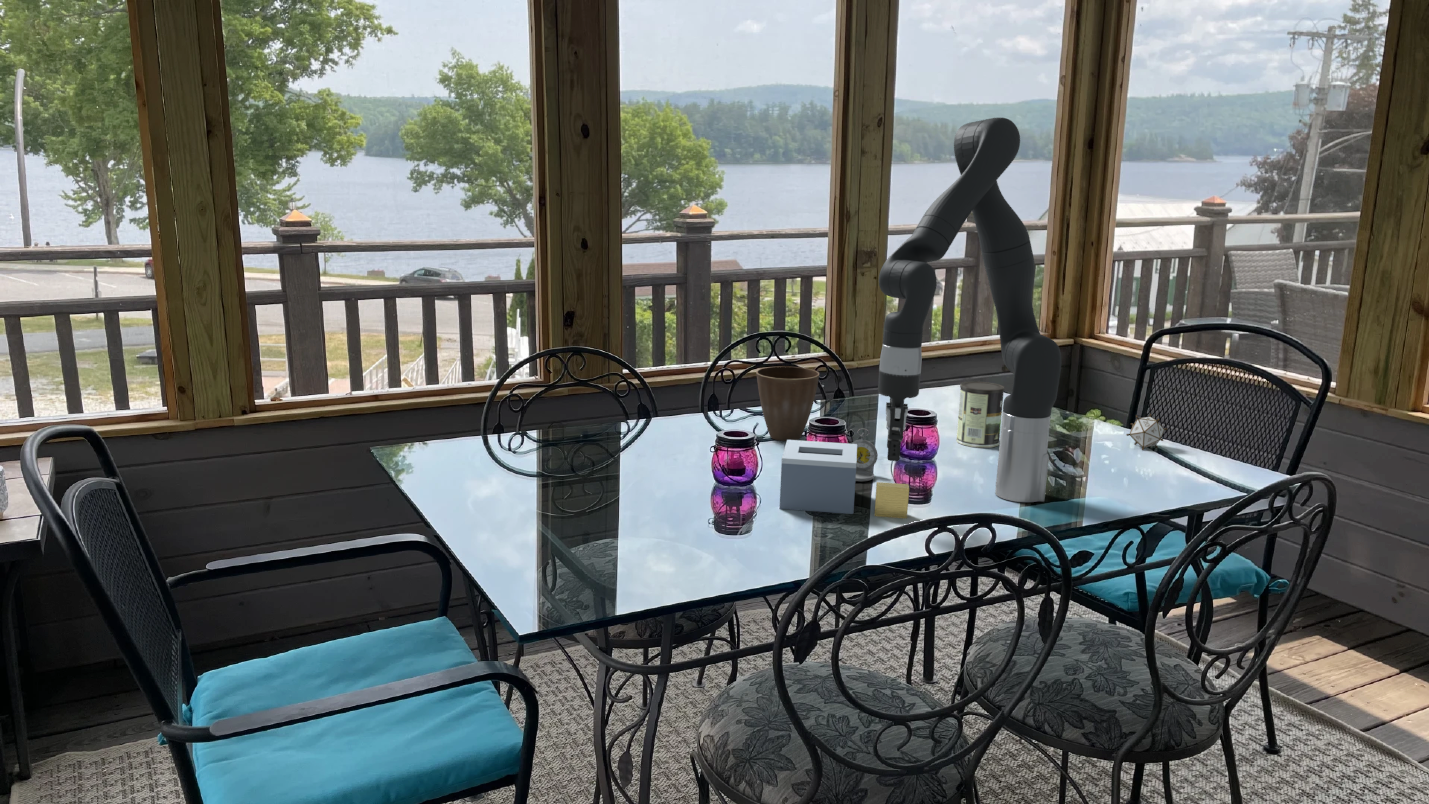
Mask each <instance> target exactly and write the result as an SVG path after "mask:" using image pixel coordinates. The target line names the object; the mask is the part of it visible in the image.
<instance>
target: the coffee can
mask: <svg viewBox="0 0 1429 804" xmlns="http://www.w3.org/2000/svg"><path fill="white" fill-rule="evenodd" d="M959 386H960V387H959V388H960V393H959V403H958V416H957V417H958V419H957V429H956V430H957V431H956V440H955V441H956V443H957V444H960V445H962V446H965V447H972V448H980V449H982V448H983V449H985V448H986V449H987V448H996V447H998V446H1000V435H1001V426H1002V425H1001V424H1002V413H1003V403H1004V393H1005V392H1004V391H1005V386H1004V385H1002V384H999V383H996V382H989V381H976V380H975V381H964V382H961V383H960V384H959Z"/></svg>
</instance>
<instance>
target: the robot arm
mask: <svg viewBox="0 0 1429 804" xmlns="http://www.w3.org/2000/svg"><path fill="white" fill-rule="evenodd" d="M1020 146H1021V136H1020V131H1019V129H1018V127H1017V125H1016V124H1015V123H1014V122H1013V121H1012V120H1011V119H1009V118H1006V117H990V118H986V119H982V120H977V121H972V122H967V123H965V124H963V125H961V126H960V127H959V128H958V129H957V131H956V132H955V135H954V140H953V152H954V157H955V161H956V165H957V168H958V171H959V174H960V176H959V177H958V178H957V179H956V180H955V181H954V182H953V183H952V184H951V185H950V186H949V187H947V189H946V190H945V191H944V192H942V193H941V194H939V196H938V197H937V198H936V199H935V200H934V201H933V202H932V203H931V204H930V206H928V209H927V210H926V211H925V212H924V214H923V216H922V218H921V219H920V221H919V222H918V224H917V225H916V227H915V229H914V231H913V233H912V234H911V235H910V236H909V238H907V239H906V240H905V241H904V242H902V244H901V245H900V246H898V247H897V248H896V249H895V251H894V252H892V254H891V255H890V256H888V258H887V259H886V260H885V262H884V263H883V265H882V266H881V269H880V271H879V275H878V286H879V289H880V291H881V292H882V294H883V295H885V296H887V297H890V298H895V299H901V300H904V303H903V306H902V308H901V310H899V311H893V312H889V313H888V314H887V315H886V316H885V318H884V325H883V337H882V347H881V353H880V356H879V357H880V358H879V366H878V367H879V368H878V380H877V381H878V382H877V392H878V394H880V395H881V396H884V397H888V398H889V402H886V404H885V421H886V429H887V440H886V442H887V443H886V448H887V457H886V459H887V460H888V461H889V462H890V461H891V462H899V461H900V459H901V446H902V442H903V440H904V431H905V430H906V427H907V426H906V425H907V417H908V411H909V406H908V403H905V400H906V399H907V398H908V399H914V398H917V397H918V396H919V394H920V383H921V372H922V361H923V360H922V359H923V357H922V356H923V355H922V345H923V332H924V324H925V322H926V318H927V316H928V314H929V310H930V307H931V304H932V301H933V299H934V297H935V295H936V294H935V293H936V290H937V281H938V280H937V275H936V271H935V269H934V267H932V265H931V264H930V263H932V262H937V261H939V260H941V259H942V258H943V257H944V256H945V255H946V254H947V252H948V250H949V249H950V247H951V246H952V244H953V242H954V240H955V239H956V237H957V235H958V233H959V232H960V231H961V228H962V227H963V225H964V223H966V220H967V219H968V218H969V217H970V214H971V213H972V216H973V220H974V224H975V227H976V231H977V236H978V241H979V246H980V251H981V256H982V261H983V265H984V269H985V272H986V276H987V280H988V284H989V289H990V293H991V297H992V300H993V304H994V309H995V313H996V316H997V324H998V332H999V341H1000V349H1001V350H1000V351H1001V356H1002V361H1003V363H1004V365H1005V367H1006V368H1007V369H1008V371H1009V372H1011V373H1012V374H1013V383H1012V390H1011V392H1010V394H1009V395H1007V396H1006V397H1005V398H1003V405H1002V416H1001V427H1000V438H999V445H998V446H999V448H998V459H997V469H996V481H995V492H994V493H995V495H996V496H998V498H1000V499H1004V500H1007V501H1009V502H1010V501H1011V502H1016V503H1017V502H1018V503H1034V502H1045V497H1046V488H1047V486H1046V485H1047V478H1048V469H1049V459H1050V457H1049V454H1048V444H1049V433H1050V426H1051V415H1052V410H1053V406H1054V405H1055V403H1056V401H1057V398H1058V397H1057V396H1058V391H1059V385H1060V377H1061V370H1062V353H1061V349H1060V347H1059V345H1058V343H1057V342H1056V341H1054V340H1053V339H1051V338H1050V337H1048V336H1046V335H1042V334H1041V332H1040V330H1039V326H1038V324H1037V320H1036V316H1035V312H1034V308H1033V307H1034V306H1033V288H1034V281H1035V269H1036V267H1035V258H1034V254H1033V248H1032V243H1031V237H1030V235H1029V231H1028V229H1027V227H1026V226H1025V224H1024V222H1023V220H1022V219H1021V218H1020V217H1019V215H1018V214H1017V213H1016V211H1015V210H1014V209H1013V207H1011V205H1010V203H1008V201H1007V200H1006V198H1005V197H1004V195H1003V194H1002V191H1001V190H1000V186H999V183H998V179H999V178H1000V177H1001V175H1003V173H1005V171H1006V170H1007V169H1008V168H1009V166H1010V165H1011V164H1012V162H1013V161H1014V160H1015V158H1017V157H1016V156H1017V155H1018V153H1019V150H1020Z"/></svg>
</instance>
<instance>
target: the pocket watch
mask: <svg viewBox="0 0 1429 804" xmlns="http://www.w3.org/2000/svg"><path fill="white" fill-rule="evenodd" d="M861 430H866V431H867V434H866V433H865V432H862V433H860V431H861ZM870 432H871V431H870V430H868V429H867V428H864V427H863V428H858V430H857V434H858V436H860V438H861V439H856V440H854V441H853V442H851V443H850V444H857V462H856V479H855V482H868V481H871V480H873V479H874V477H875V474H874V473H873V472H871V471H868V470H870V469H871V468H873V467H875V464H876V463H877V462H878V461H877V460H878V450H877V448H876V446H875V445H874V444H873V443H872V442H871V441H869V440H867V439H865V438H866V437H867V436H869V435H870ZM860 461H861V462H860Z"/></svg>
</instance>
